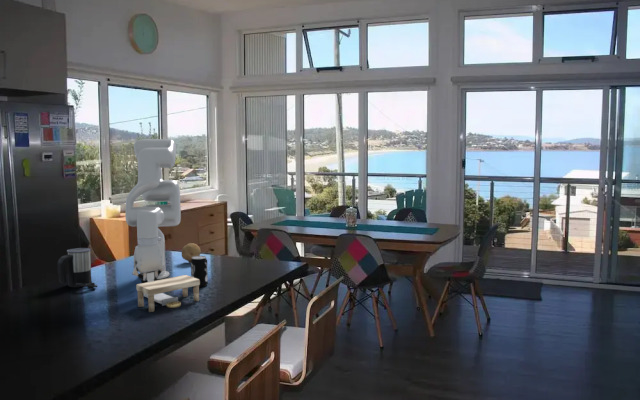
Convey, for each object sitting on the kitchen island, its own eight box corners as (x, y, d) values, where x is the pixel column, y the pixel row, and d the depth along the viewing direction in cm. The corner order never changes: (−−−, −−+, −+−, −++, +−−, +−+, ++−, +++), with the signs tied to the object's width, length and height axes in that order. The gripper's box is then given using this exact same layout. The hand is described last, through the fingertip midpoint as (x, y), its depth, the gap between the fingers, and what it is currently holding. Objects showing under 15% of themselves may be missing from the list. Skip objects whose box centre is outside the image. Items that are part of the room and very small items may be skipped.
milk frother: (78, 281, 229) (76, 247, 227) (111, 283, 225) (109, 248, 224) (54, 290, 215) (52, 253, 213) (89, 292, 211) (88, 255, 210)
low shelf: (137, 306, 194) (136, 284, 194) (186, 295, 208) (185, 274, 208) (150, 312, 187) (149, 289, 186) (200, 300, 201) (199, 279, 200)
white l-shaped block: (140, 295, 208) (139, 272, 207) (154, 292, 212) (154, 270, 211) (162, 305, 195) (162, 281, 194) (177, 302, 199) (177, 278, 198)
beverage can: (203, 288, 218) (203, 259, 217) (188, 287, 219) (188, 258, 218) (210, 284, 224) (209, 255, 223) (195, 283, 226) (194, 255, 224)
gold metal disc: (164, 305, 195) (164, 302, 195) (177, 303, 198) (177, 300, 198) (170, 309, 191) (170, 305, 191) (183, 306, 195) (183, 303, 195)
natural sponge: (192, 266, 256) (192, 245, 255) (177, 264, 260) (177, 244, 259) (204, 262, 264) (204, 242, 263) (189, 260, 268) (189, 240, 267)
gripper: (162, 238, 214) (164, 283, 216) (123, 243, 203) (124, 291, 205) (172, 240, 209) (173, 286, 211) (131, 246, 198) (133, 295, 200)
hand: (149, 288), depth 208 cm, fingers closed on white l-shaped block, 2 cm apart
